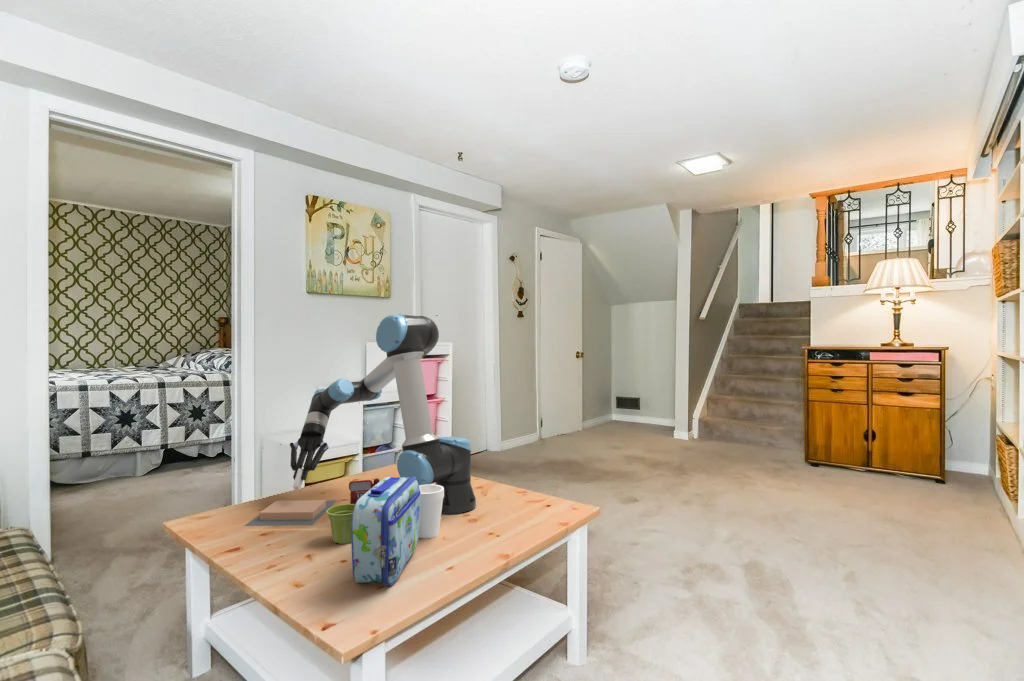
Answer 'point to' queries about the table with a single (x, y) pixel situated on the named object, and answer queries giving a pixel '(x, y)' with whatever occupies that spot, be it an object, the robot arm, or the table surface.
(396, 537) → the lunch box
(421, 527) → the foam cup
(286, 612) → the table surface
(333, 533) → the plant pot
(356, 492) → the toy fire truck
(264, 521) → the rubber mat
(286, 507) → the terracotta tile
